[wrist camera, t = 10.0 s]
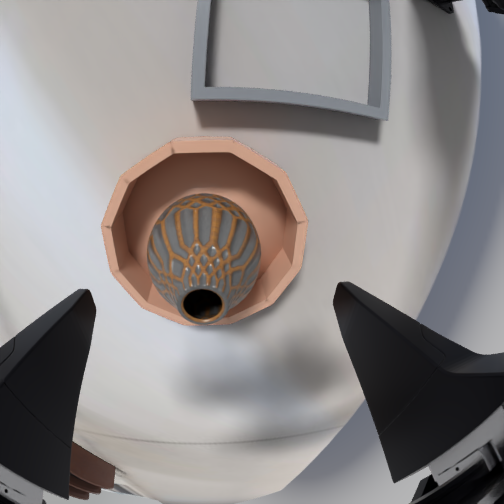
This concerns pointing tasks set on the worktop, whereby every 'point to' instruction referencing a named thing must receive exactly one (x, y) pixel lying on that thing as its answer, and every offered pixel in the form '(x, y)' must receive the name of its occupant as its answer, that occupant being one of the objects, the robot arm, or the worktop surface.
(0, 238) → the worktop surface
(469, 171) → the worktop surface
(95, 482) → the letter holder
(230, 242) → the vase
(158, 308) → the bowl
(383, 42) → the parts tray
